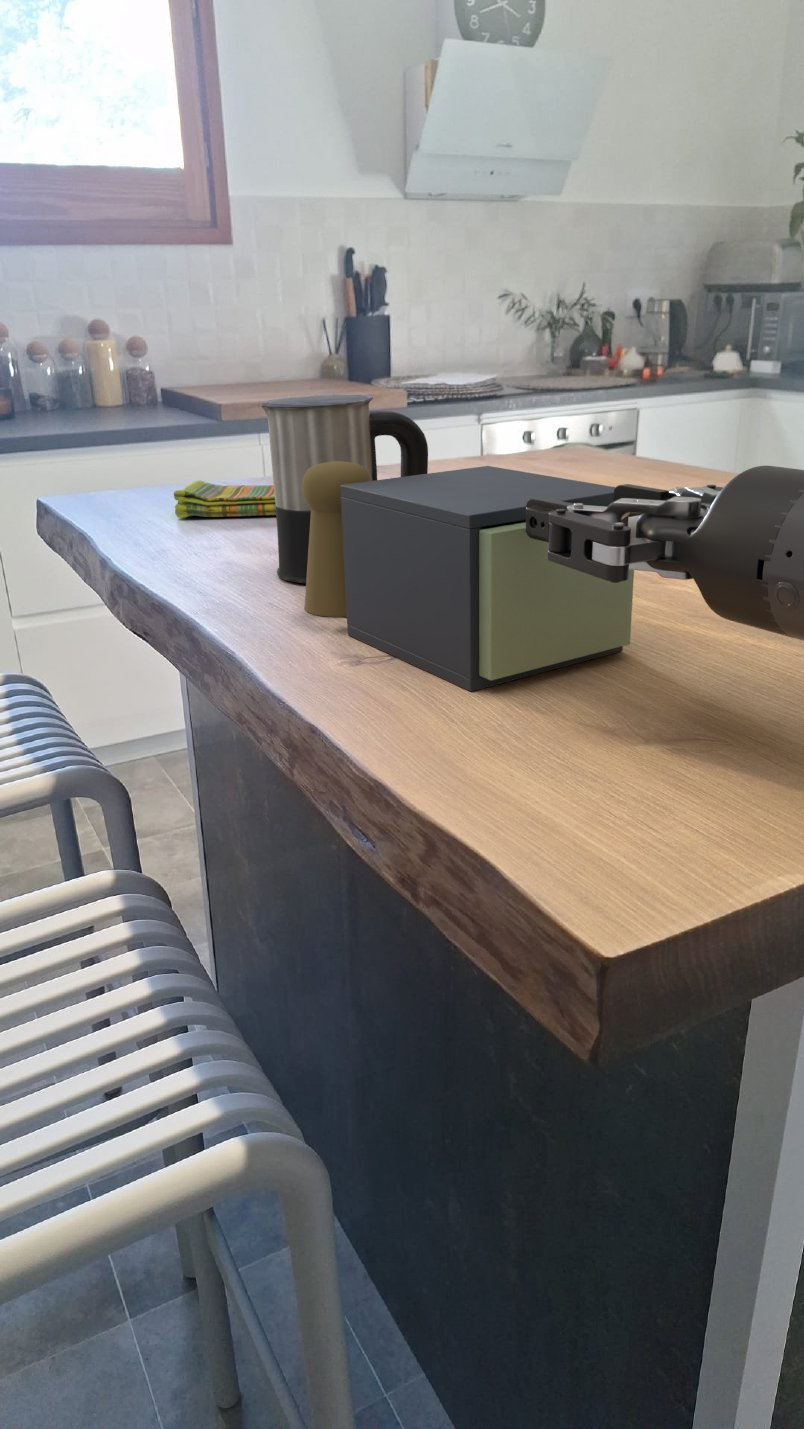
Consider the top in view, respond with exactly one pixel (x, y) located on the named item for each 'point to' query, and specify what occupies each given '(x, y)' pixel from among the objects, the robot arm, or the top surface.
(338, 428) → the milk frother
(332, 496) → the olive pawn
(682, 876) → the top surface
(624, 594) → the drawer
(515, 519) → the cabinet
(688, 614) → the top surface
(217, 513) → the dish towel
